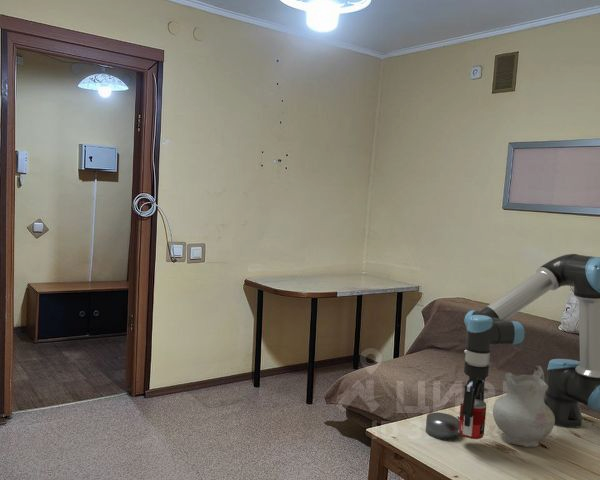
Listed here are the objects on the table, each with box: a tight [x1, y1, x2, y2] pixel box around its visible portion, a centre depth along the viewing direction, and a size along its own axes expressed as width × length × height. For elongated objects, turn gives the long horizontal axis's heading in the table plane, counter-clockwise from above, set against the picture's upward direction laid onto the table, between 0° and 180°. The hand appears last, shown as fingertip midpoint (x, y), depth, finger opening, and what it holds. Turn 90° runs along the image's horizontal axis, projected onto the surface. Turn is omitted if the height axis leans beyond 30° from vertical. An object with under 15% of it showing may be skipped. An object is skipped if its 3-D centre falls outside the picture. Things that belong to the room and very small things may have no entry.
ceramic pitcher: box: [492, 364, 555, 448], centre depth 178 cm, size 22×20×25 cm
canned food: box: [458, 397, 487, 440], centre depth 170 cm, size 8×8×11 cm
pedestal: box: [425, 412, 460, 442], centre depth 179 cm, size 11×11×5 cm
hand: (471, 430), depth 170 cm, fingers closed on canned food, 8 cm apart
